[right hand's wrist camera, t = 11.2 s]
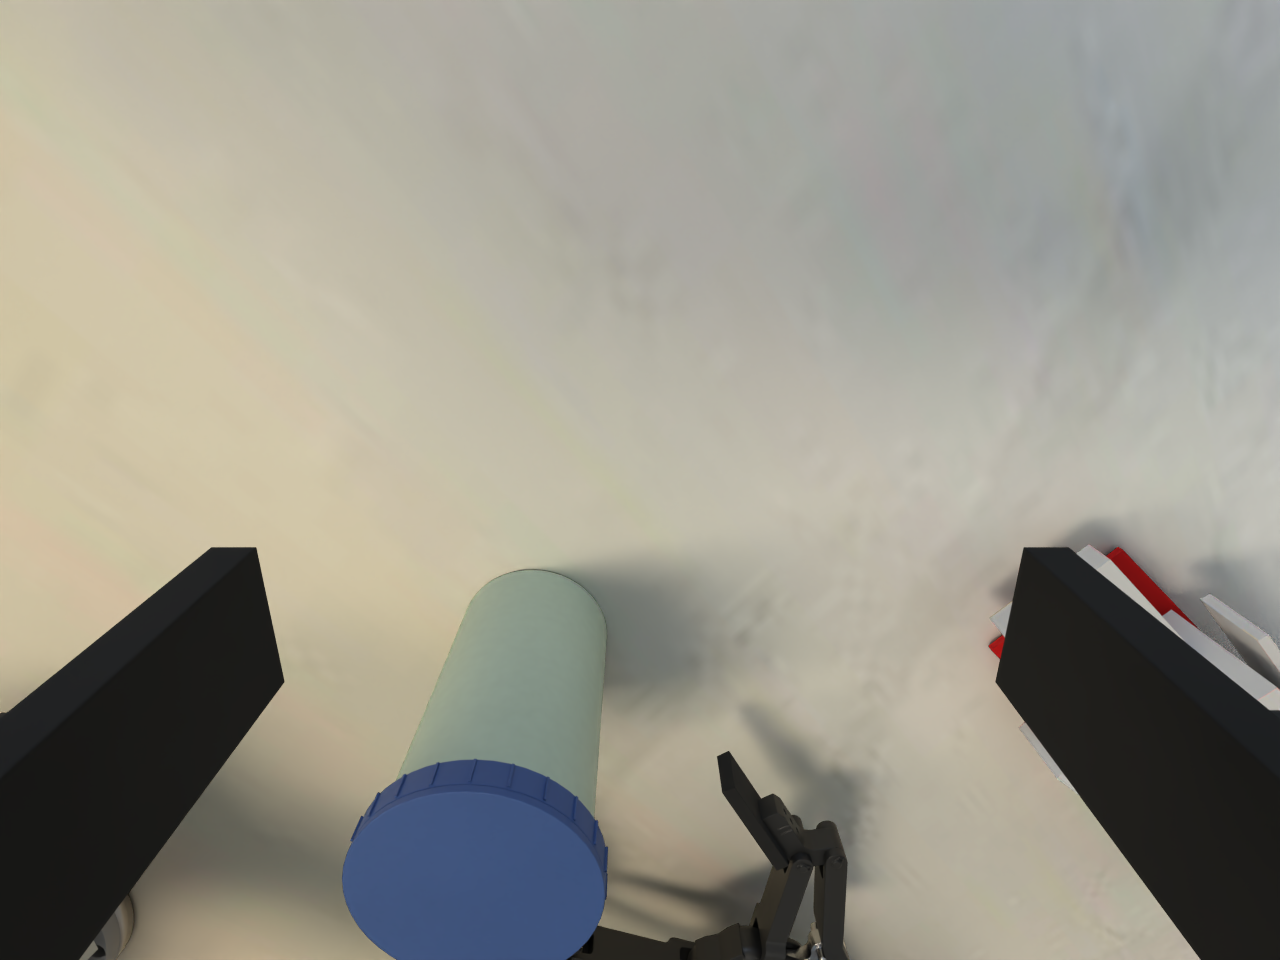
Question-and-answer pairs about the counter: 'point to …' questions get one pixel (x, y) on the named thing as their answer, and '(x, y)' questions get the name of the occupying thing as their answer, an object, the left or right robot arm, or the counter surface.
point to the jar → (522, 683)
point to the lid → (476, 866)
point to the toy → (1268, 669)
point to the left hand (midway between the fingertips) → (618, 818)
